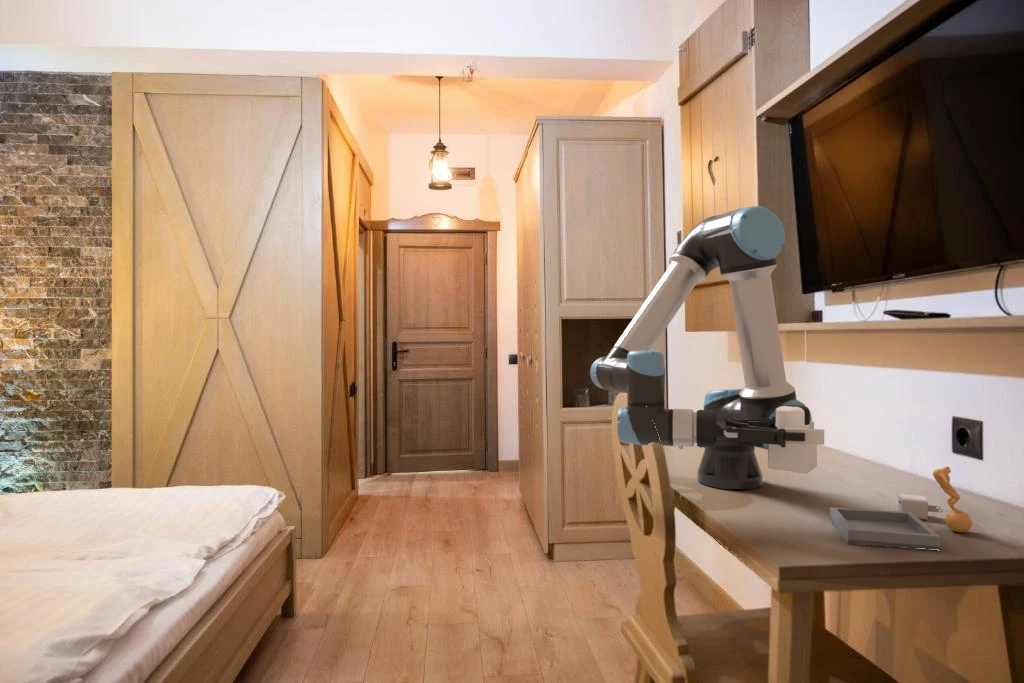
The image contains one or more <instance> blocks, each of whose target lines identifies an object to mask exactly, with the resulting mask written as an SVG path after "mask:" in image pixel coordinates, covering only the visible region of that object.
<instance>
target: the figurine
mask: <svg viewBox="0 0 1024 683" xmlns="http://www.w3.org/2000/svg"><path fill="white" fill-rule="evenodd" d="M950 473H952V470H951V467H949V466H945V467H943V468H942V467H941V468H938V469H937V468H936V469H935V470H933V472H932V476H933V478H934V479H935V482H937V483H938V484H939V486H940V488H941V489H942V490H943V492H944V493H945V494H947V495H948V496H950V497H948V498H947V500H946V501H947V505H948V506H949V507H950V508H951V510H950V511H949V512H948V513H947V514H946V515H945V517H944V518H945V523H946V526H947V527H948V528H949V529H950V530H952V531H953V532H955V533H966V532H968V531H969V530H971V529H972V526H973V520H972V517H971V515H969V514H968V513H967V512H965V511H963V510H960V509H958V508H956V507H955V506H954V505H956V504H957V502H959V500H961V495H960V494H959V493H958V492H957V491H956V489H955V488H954V487H953V485H952V484H951V483H950V482H951V477H950V475H949V474H950Z"/></svg>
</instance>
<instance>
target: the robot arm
mask: <svg viewBox="0 0 1024 683" xmlns="http://www.w3.org/2000/svg"><path fill="white" fill-rule="evenodd" d="M785 242H786V233H785V228H784V225H783V223H782V222H781V219H780V218H779V217H778V216H777V214H776V213H774V212H772V211H771V209H769V208H767V207H764V206H759V205H757V206H756V205H755V206H746V207H742V208H741V207H740V208H737V209H735V210H731V211H728V212H725V213H721V214H718V215H712V216H709V217H707V218H705V219H703V220H702V221H700V222H699V223H698V224H696V225H695V226H694V227H693V228H692V229H691V230H690V231H689V232H688V233H687V235H685V237H684V238H683V239H682V241H681V242H680V243H679V244H678V245H677V247H676V248H675V249H674V251H673V253H672V254H671V256H670V257H669V258H668V263H669V265H668V267H667V269H666V270H665V272H663V274H662V275H661V277H660V279H659V280H658V281H657V283H656V285H655V286H654V288H653V289H652V290H651V291H650V294H649V295H648V296H647V297H646V299H645V300H644V301H643V303H642V305H641V306H640V307H639V309H638V311H637V312H636V313H635V315H634V316H633V318H632V319H631V321H630V322H629V323H628V325H627V326H626V328H625V329H624V330H623V332H622V334H621V335H620V336H619V338H618V339H617V341H616V342H615V344H614V346H613V347H612V348H611V350H610V351H609V352H608V354H607V355H606V356H601V357H599V358H597V359H596V360H595V361H594V362H593V363H592V364H591V367H590V370H589V372H590V373H589V374H590V378H591V381H592V383H593V384H594V385H595V386H596V387H598V388H600V389H602V390H605V391H607V392H619V393H623V394H626V396H627V397H626V398H627V404H626V406H624V407H620V408H619V409H618V410H617V418H616V419H617V421H616V430H617V431H616V432H617V438H618V440H619V441H620V442H621V443H623V444H627V445H629V444H630V445H639V446H649V445H648V444H649V443H651V442H655V443H658V442H659V444H660V446H661V443H662V446H661V447H663V446H665V447H667V446H668V447H678V448H677V449H680V450H683V449H684V447H687V448H688V447H690V448H691V447H694V445H696V447H698V448H704V451H703V453H702V457H701V459H700V463H699V466H698V468H697V482H698V483H700V484H701V483H702V485H704V486H707V487H712V488H717V489H722V490H723V489H724V490H733V489H746V490H754V489H753V488H755V489H759V488H760V486H761V487H762V486H763V482H764V481H763V480H764V479H763V478H764V477H763V473H762V470H761V467H760V464H759V462H758V458H757V456H756V452H755V450H756V449H755V448H759V449H764V450H767V451H768V444H775V445H781V447H786V443H793V444H817V446H819V445H821V446H823V445H825V429H823V428H821V429H820V428H815V422H814V421H813V418H812V414H811V413H812V412H810V428H808V429H799V428H785V430H784V429H777V427H776V426H775V409H776V408H777V407H779V406H782V405H796V406H804V407H806V408H808V409H809V407H808V406H806V404H805V403H804V402H802V401H800V400H797V393H796V388H795V386H793V385H792V384H791V383H789V382H788V381H787V378H786V377H787V376H786V370H785V364H784V363H785V362H784V358H783V357H784V356H783V351H782V350H783V349H782V343H781V342H782V341H781V338H780V330H779V324H778V315H777V310H776V302H775V297H774V289H773V283H772V276H771V275H772V272H773V271H774V270H775V269H776V268H777V266H778V265H777V256H779V254H780V253H781V252H782V250H783V247H784V246H785ZM717 268H719V271H720V276H721V277H723V278H724V279H725V280H727V281H728V282H729V283H728V284H729V288H730V295H731V302H732V309H733V315H734V316H733V317H734V320H735V321H734V322H735V328H736V335H737V340H738V348H739V354H740V360H741V367H742V374H743V379H744V387H742V388H736V389H735V388H734V389H733V388H732V389H719V390H718V389H717V390H708V391H706V393H705V396H704V401H703V402H704V404H703V409H697V410H696V411H694V409H693V408H692V409H691V408H665V404H666V402H665V386H666V384H665V380H666V378H665V376H666V375H665V374H666V367H665V358H664V357H665V356H664V354H663V352H662V351H660V350H652V349H653V348H654V346H655V345H656V344H657V342H658V341H659V340H660V338H661V336H662V335H663V333H664V332H665V330H666V329H667V327H668V326H669V325H670V323H671V322H672V320H673V319H674V317H675V316H676V314H677V313H678V311H679V310H680V309H681V307H682V306H683V304H684V303H685V301H686V299H687V298H688V297H689V295H690V294H691V292H692V291H693V289H694V288H695V287H696V285H697V283H702V282H704V281H705V280H706V279H707V277H708V276H709V274H710V273H712V271H714V270H716V269H717ZM646 406H647V407H646ZM652 420H653V421H652ZM654 423H655V424H654ZM655 426H656V428H655ZM656 429H657V430H656ZM657 432H658V433H657ZM658 434H659V436H658ZM659 437H660V440H661V442H660V440H659ZM660 446H659V447H660ZM758 487H759V488H758Z"/></svg>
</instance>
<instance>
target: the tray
mask: <svg viewBox="0 0 1024 683" xmlns="http://www.w3.org/2000/svg"><path fill="white" fill-rule="evenodd" d="M829 520H831V521H832V522H831V521H830V522H831V523H832V525H833V524H834V525H833V526H834V528H837V529H836V530H837V531H838V533H839V532H840V533H839V534H840V535H841V537H842V536H843V537H842V538H843V539H844V541H845V540H846V541H845V542H846V543H847V544H848V545H854V544H855V545H854V546H858V545H859V546H866V545H869V547H878V546H886V547H885V548H891V547H903V548H902V549H904V548H905V547H906V548H925V549H939V550H941V551H942V546H941V545H942V538H941V535H939V534H938V533H937V532H936V531H935V530H934V529H932V528H931V527H929V526H928V525H927V524H926V523H925V522H923V521H922V519H919V518H917V517H916V516H915V515H914V514H912V513H911V512H898V510H897V511H893V510H882V509H880V510H879V509H865V508H849V507H847V508H846V507H829ZM871 545H872V546H871ZM887 546H888V547H887Z"/></svg>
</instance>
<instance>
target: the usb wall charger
mask: <svg viewBox="0 0 1024 683" xmlns="http://www.w3.org/2000/svg"><path fill="white" fill-rule="evenodd" d="M897 496H898V497H897V498H898V500H897V502H898V504H897V507H898V508H897V511H898V512H911V513H912V514H914V515H915V516H916V517H917V518H919V519H920V520H923V519H924V521H928V519H929V518H928V516H929V514H928V512H931V513H944V512H943V509H942V508H941V506H939V505H934V504H929V502H928V499H927V498H926V497H925V495H912V494H905V493H903V494H902V493H900V494H899V493H898V495H897ZM940 510H941V511H940Z"/></svg>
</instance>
